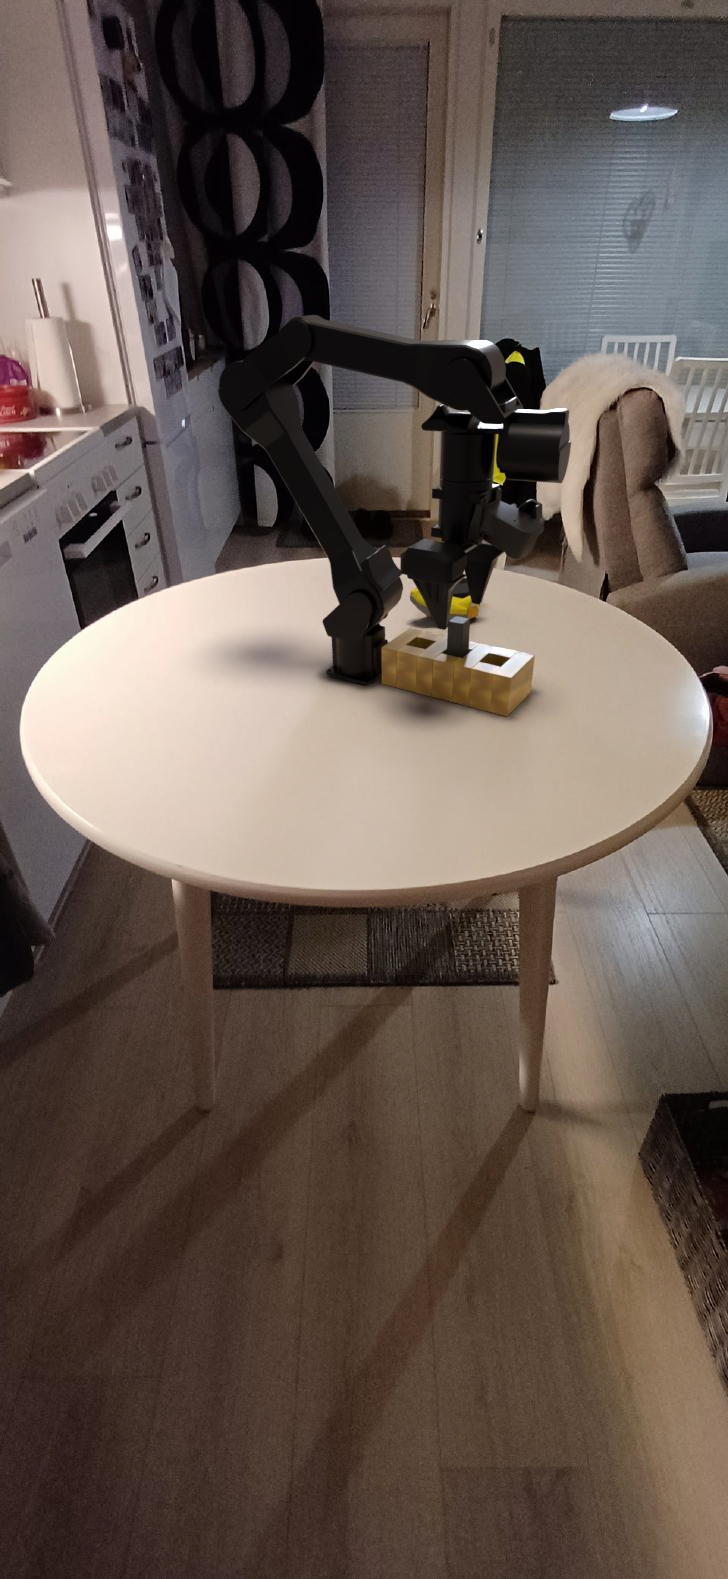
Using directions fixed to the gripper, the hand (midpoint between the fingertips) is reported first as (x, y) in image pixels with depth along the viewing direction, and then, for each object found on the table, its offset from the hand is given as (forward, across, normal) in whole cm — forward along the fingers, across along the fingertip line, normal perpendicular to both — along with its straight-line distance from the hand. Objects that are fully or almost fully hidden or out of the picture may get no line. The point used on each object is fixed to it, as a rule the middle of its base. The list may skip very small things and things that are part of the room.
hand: (459, 615), depth 92 cm
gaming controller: (+10, +23, +13) cm, 28 cm away
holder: (+10, 0, 0) cm, 10 cm away
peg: (+10, 0, 0) cm, 10 cm away
